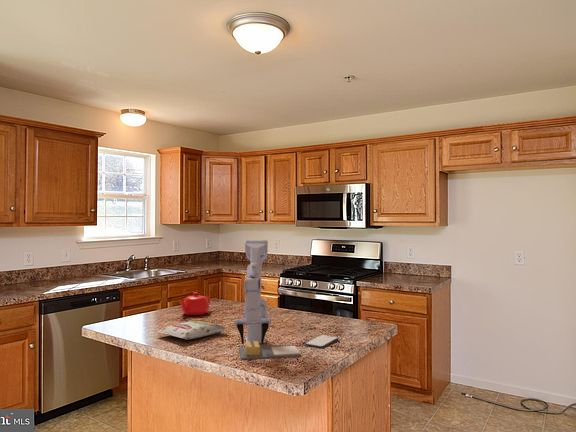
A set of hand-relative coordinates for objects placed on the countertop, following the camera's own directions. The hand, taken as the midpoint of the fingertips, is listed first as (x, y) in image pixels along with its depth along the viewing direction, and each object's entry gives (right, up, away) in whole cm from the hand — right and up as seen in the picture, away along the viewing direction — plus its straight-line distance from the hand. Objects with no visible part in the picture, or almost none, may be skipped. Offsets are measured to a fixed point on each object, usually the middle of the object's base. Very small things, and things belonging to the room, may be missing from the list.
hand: (252, 343), depth 165 cm
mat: (+6, -4, +1) cm, 8 cm away
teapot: (-39, -6, +71) cm, 81 cm away
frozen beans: (-29, -5, +26) cm, 40 cm away
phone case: (+29, -5, +15) cm, 33 cm away
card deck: (0, -4, 0) cm, 4 cm away
